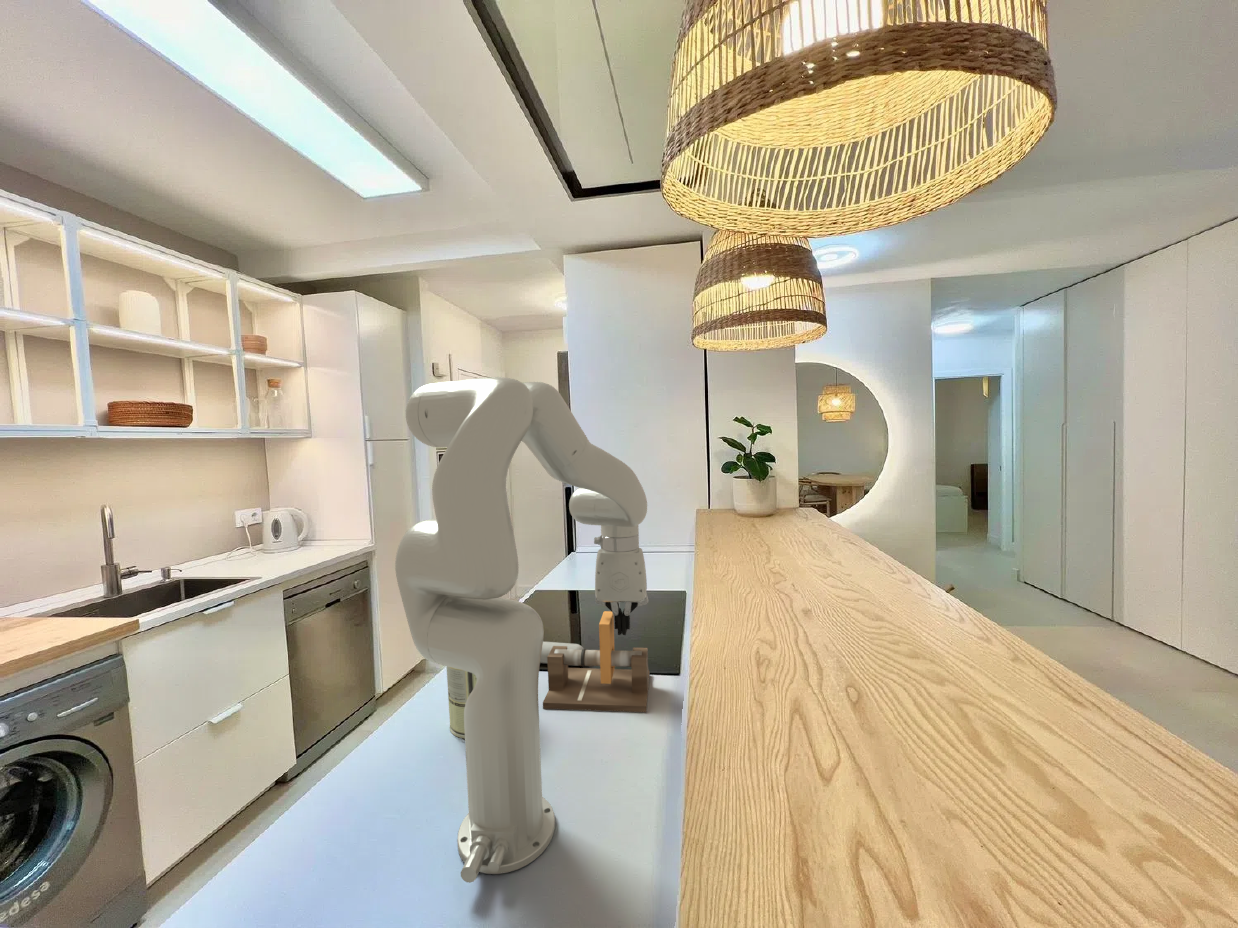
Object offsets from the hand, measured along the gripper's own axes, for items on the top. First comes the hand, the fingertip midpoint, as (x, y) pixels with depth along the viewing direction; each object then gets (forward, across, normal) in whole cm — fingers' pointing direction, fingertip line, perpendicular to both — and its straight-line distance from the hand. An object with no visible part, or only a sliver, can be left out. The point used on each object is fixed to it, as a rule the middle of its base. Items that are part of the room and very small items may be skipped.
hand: (622, 632), depth 98 cm
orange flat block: (+9, -3, 0) cm, 10 cm away
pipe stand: (+12, -5, 0) cm, 14 cm away
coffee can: (+13, -26, -12) cm, 31 cm away
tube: (+13, -23, +12) cm, 29 cm away
